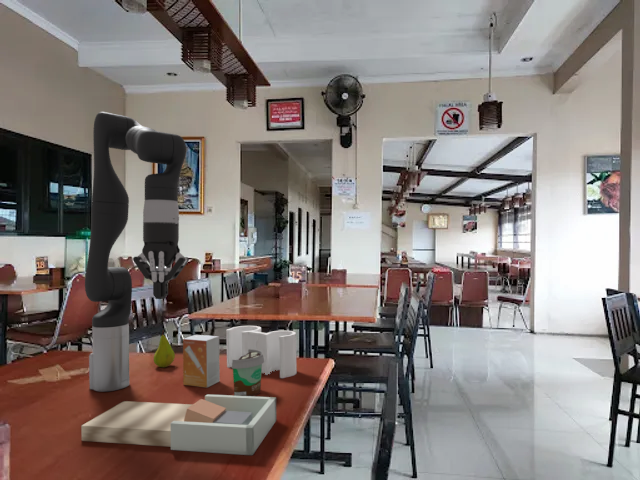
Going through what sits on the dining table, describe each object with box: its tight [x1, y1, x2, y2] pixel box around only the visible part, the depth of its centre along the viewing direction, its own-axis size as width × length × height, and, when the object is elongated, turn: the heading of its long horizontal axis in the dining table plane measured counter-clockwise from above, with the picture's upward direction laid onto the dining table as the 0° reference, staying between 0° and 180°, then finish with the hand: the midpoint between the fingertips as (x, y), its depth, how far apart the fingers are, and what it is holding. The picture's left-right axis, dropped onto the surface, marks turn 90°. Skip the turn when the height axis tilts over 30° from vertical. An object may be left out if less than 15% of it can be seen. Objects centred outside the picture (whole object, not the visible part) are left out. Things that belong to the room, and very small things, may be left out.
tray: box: [170, 394, 277, 456], centre depth 90 cm, size 16×16×5 cm
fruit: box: [153, 329, 176, 368], centre depth 143 cm, size 6×6×12 cm
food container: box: [231, 349, 264, 397], centre depth 116 cm, size 12×6×10 cm, turn 168°
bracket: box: [225, 325, 298, 379], centre depth 138 cm, size 25×10×12 cm, turn 54°
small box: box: [182, 334, 221, 389], centre depth 124 cm, size 8×6×13 cm
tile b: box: [213, 411, 252, 425], centre depth 90 cm, size 6×6×3 cm
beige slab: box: [80, 400, 193, 448], centre depth 94 cm, size 20×14×3 cm
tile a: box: [184, 398, 226, 423], centre depth 91 cm, size 6×6×3 cm
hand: (160, 298), depth 99 cm, fingers closed
